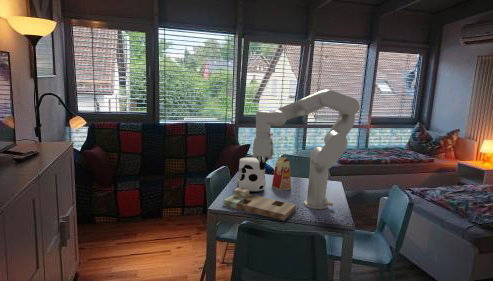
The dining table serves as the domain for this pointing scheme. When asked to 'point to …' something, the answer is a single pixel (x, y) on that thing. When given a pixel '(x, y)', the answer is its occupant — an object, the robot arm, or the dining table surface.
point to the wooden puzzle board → (261, 206)
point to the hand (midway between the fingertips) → (262, 169)
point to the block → (241, 192)
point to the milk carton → (282, 174)
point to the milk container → (251, 175)
